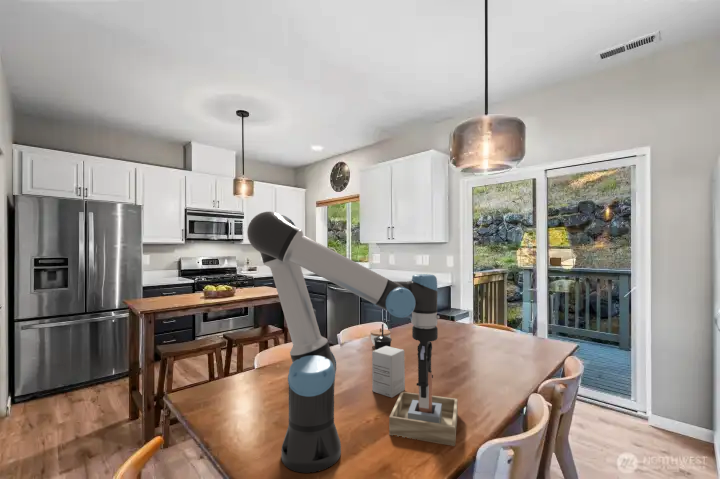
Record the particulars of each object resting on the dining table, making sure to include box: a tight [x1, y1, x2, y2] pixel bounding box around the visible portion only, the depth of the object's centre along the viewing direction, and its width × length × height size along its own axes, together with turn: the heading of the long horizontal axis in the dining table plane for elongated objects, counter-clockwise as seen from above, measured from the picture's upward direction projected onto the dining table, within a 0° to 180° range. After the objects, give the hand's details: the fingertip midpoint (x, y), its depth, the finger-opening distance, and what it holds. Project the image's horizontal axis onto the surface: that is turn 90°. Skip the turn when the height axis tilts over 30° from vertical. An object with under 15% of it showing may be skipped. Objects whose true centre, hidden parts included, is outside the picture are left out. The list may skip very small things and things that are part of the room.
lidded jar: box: [370, 327, 392, 346], centre depth 184 cm, size 11×11×9 cm
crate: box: [388, 391, 458, 447], centre depth 103 cm, size 18×18×5 cm
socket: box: [408, 400, 442, 424], centre depth 103 cm, size 9×9×4 cm
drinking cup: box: [374, 323, 392, 350], centre depth 148 cm, size 8×8×20 cm
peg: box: [419, 372, 433, 413], centre depth 103 cm, size 4×4×14 cm
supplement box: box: [371, 346, 406, 399], centre depth 127 cm, size 9×9×15 cm
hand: (425, 403), depth 103 cm, fingers open, 4 cm apart
